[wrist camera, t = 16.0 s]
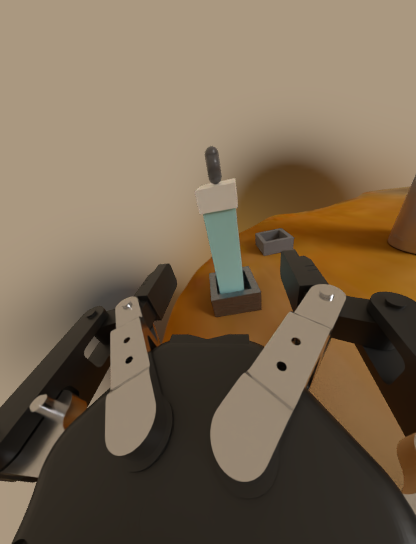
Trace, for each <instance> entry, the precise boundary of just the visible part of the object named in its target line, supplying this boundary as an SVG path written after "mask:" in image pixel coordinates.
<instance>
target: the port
mask: <svg viewBox="0 0 416 544" xmlns="http://www.w3.org/2000/svg"><path fill="white" fill-rule="evenodd" d="M242 272H243V281H244V290H242V291H236V292H231V293H225V294H220V290H219V286H218V281H217V276H216V272H215V273H210V274H209V277H210V290H211V302H212V305H213V309H214V313H215V317H220V316H226V315H232V314H238V313H244V312H250V311H256V310H262V309H261V291H260V289H259V287H258V285H257V283H256V281H255V279H254V276H253V274H252V272H251V270H250V268H249V266H246V267H242Z"/></svg>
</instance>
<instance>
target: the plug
mask: <svg viewBox="0 0 416 544" xmlns="http://www.w3.org/2000/svg"><path fill="white" fill-rule="evenodd" d="M205 160H206V165H207V171H208V177H209V181H210V182H211V184H206V185H202V186H200V187H199V188H198V189H197V190H195V195H196V200H197V204H198V209H199V213H200V214H203V216H204V221H205V225H206V230H207V235H208V239H209V244H210V248H211V253H212V258H213V262H214V267H215V272H216V276H217V281H218V286H219V290H220V294H225V293H231V292H236V291H242V290H244V281H243V272H242V262H241V253H240V243H239V234H238V225H237V215H236V208H238V204H237V192H236V183H235V182H236V181H235V178H234V179H229V180H225V181H221V177H222V176H221V169H220V161H219V154H218V150H217V149H216V148H215V147H213V146H210V147H208V148H207V149H206V151H205Z"/></svg>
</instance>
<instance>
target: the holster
mask: <svg viewBox="0 0 416 544" xmlns="http://www.w3.org/2000/svg"><path fill="white" fill-rule="evenodd" d="M255 236H256V245H257V247H258V248H259V249H260V251H261V252H262V254H263V255H264V256H265V255H270V254H275V253H280V252H281V251H283V250H292V249H293V242H294V237H293V236H291V235H290V234H289V233H287V232H286V231H285V230H283V229H282V228H279V229H274V230H270V231H265V232H260V233H255Z"/></svg>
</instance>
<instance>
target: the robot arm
mask: <svg viewBox="0 0 416 544" xmlns="http://www.w3.org/2000/svg"><path fill="white" fill-rule="evenodd" d="M388 243H389V244H390V245H392V246H393V247H395V248H397V249H400V250H403V251H407V252H410V253H415V254H416V175H415V177H414V180H413V182H412V184H411V187H410V189H409V191H408V194H407V196H406V198H405V201H404V203H403V205H402V208H401V210H400V212H399V215H398V217H397V219H396V221H395V224H394V226H393V228H392V231H391V233H390V235H389V238H388ZM280 274H281V279H282V282H283V285H284V288H285V290H286V293H287V296H288V299H289V301H290V304H291V307H292V310H293V312H292V311H290V312H289V313H288V314H287V316H286V317H285V319H284V320H283V322H282V323H281V324H280V326H279V327H278V329H277V330H276V332H275V333H274V334H273V336H272V337H271V339H270V340H269V342H268V343H267V345H266V346H265V347H264V346H262V345H260V344H257V343H255V342H252V341H249V334H229V335H224V336H220V337H216V338H211V339H204V338H200V337H196V336H193V335H172V336H171V339H170V341H168V342H165V343H163V344H160V341H159V338H158V335H157V332H156V329H155V326H154V324H153V322H154V321H156V320H162V318H163V316H164V313H165V311H166V309H167V307H168V305H169V302H170V300H171V298H172V295H173V293H174V291H175V289H176V287H177V280H176V278H175V275H174V273H173V270H172V268H171V266H170V264H160V265H158V266H157V268H156V269H155V271H154V272H152V273H151V274H150V275H149V276H148V277H147V278H146V280H145V281H144V282H143V285H141V287H140V288H139V289H138V291H137V292H136V293H135V295H134V296H133V297H128V298H126V299H124V300H122V301H121V302H120V303H119V304H118V305H117V306H116V309H113V310H109V311H106V310H105V309H104V308H103V307H102V306H97V307H94V308H92V309H90V310H89V311H87V312H86V313H85V314H84V315H83V316H82V317H81V318H80V319H79V320H78V321H77V322H76V323H75V325H74V326H73V327H72V328H71V329H70V330H69V331H68V332H67V334H66V335H65V336H64V337H63V338H62V339H61V340H60V341H59V342H58V344H57V345H56V346H55V347H54V348H53V349H52V350H51V351H50V353H49V354H48V355H47V356H46V357H45V358H44V359H43V360H42V361H41V363H40V364H39V365H38V366H37V367H36V368H35V369H34V370H33V372H32V373H31V374H30V375H29V376H28V377H27V378H26V380H25V381H24V382H23V383H22V384H21V385H20V386H19V387H18V388H17V389H16V391H15V392H14V393H13V394H12V395H11V396H10V397H9V398H8V400H7V401H6V402H5V403H4V404H3V405H2V406H1V407H0V481H8V482H16V481H24V482H37V483H36V486H35V489H34V492H33V495H32V498H31V500H30V503H29V506H28V508H27V510H26V513H25V515H24V517H23V520H22V522H21V525H20V527H19V529H18V531H17V533H16V535H15V537H14V539H13V542H12V544H416V302H415V301H414V300H412V299H410V298H408V297H406V296H403V295H400V294H397V293H392V292H377V293H374V294H373V295H372V296H371V298H370V300H369V299H362V298H355V297H349V296H346V295H345V293H344V292H343V291H342V290H340V289H339V288H337V287H335V286H332V285H329V284H328V283H327V281H326V280H325V279H324V277H323V276H322V274H321V273H320V272H319V270H318V269H317V267H316V266H315V265H314V263H313V262H312V260H311V259H309V258H307V257H305V256H299V255H298V254H297V252H296V251H295V249H292V250H283V251H281V266H280ZM94 336H95V337H96V338H97V339H98V340H99V341H100V342H99V343H98V345H97V347H96V348H95V350H94V351H93V352H92V354H91V355H90V357H89V358H88V359H87V358H85V356H84V350H85V348H86V346H87V345H88V343H89V342H90V341H91V339H92V338H93V337H94ZM331 338H335V339H339V340H343V341H347V342H351V343H354V344H355V346H356V347H357V349H358V351H359V353H360V355H361V357H362V358H363V360H364V362H365V364H366V366H367V367H368V369H369V371H370V373H371V375H372V377H373V378H374V380H375V382H376V384H377V386H378V388H379V389H380V391H381V393H382V395H383V397H384V398H385V400H386V402H387V404H388V406H389V408H390V409H391V411H392V413H393V415H394V417H395V418H396V420H397V422H398V424H399V426H400V428H401V429H402V431H403V433H404V435H405V438H403V439H401V440H400V441H399V443H398V445H397V455H398V459H399V462H400V464H401V467H402V470H403V474H404V487H403V489H402V491H400V489H399V488H398V487H397V485H396V484H395V483H394V481H393V480H392V479H391V478H390V476H389V475H388V474H387V473H386V472H385V470H384V469H383V468H382V467H381V466H380V465H379V464H378V463H377V462H376V461H375V460H374V459H373V458H372V457H371V456H370V454H369V453H368V452H367V451H366V450H365V449H364V448H363V447H362V446H361V445H360V444H359V443H358V442H357V441H356V440H355V439H354V438H353V437H352V436H351V435H350V433H349V432H348V431H347V430H346V429H345V428H344V427H343V426H342V425H341V424H340V423H339V422H338V421H337V420H336V419H335V418H334V417H333V416H332V415H331V414H330V412H329V411H328V410H327V409H326V408H325V407H324V406H323V405H322V404H321V403H320V402H319V401H318V400H317V399H316V398H315V397H314V396H313V395H312V394H311V392H310V391H309V390H310V388H311V385H312V383H313V381H314V378H315V376H316V373H317V371H318V368H319V366H320V364H321V361H322V359H323V357H324V354H325V352H326V350H327V348H328V345H329V343H330V341H331ZM110 365H111V388H109V389H108V390H107V391H106V392H105V393H104V394H103V395H102V396H101V397H99V398H98V400H96V401H95V402H94V403H93V404H92V405H91V406H89V407H88V405H89V403H90V401H91V400H92V398H93V396H94V394H95V392H96V390H97V389H98V387H99V385H100V383H101V381H102V379H103V378H104V376H105V374H106V372H107V370H108V369H109V367H110ZM87 407H88V408H87Z"/></svg>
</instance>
